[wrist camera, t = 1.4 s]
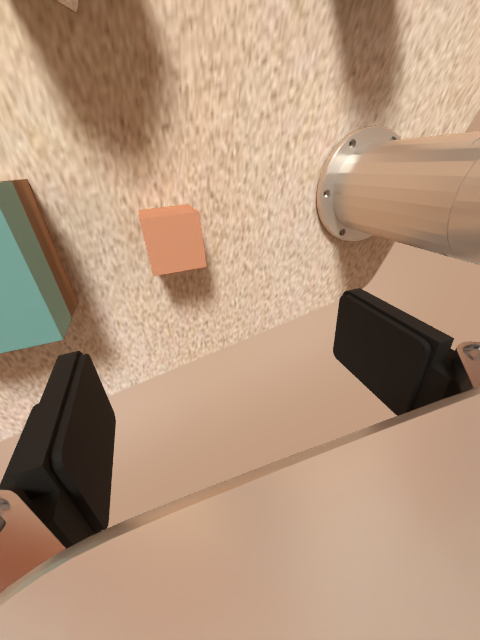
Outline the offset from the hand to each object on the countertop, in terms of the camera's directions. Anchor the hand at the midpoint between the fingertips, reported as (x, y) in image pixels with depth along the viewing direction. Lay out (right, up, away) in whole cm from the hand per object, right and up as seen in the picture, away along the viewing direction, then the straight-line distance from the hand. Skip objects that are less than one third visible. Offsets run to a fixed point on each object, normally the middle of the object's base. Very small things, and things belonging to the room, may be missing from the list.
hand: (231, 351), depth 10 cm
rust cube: (-7, +11, +19) cm, 23 cm away
